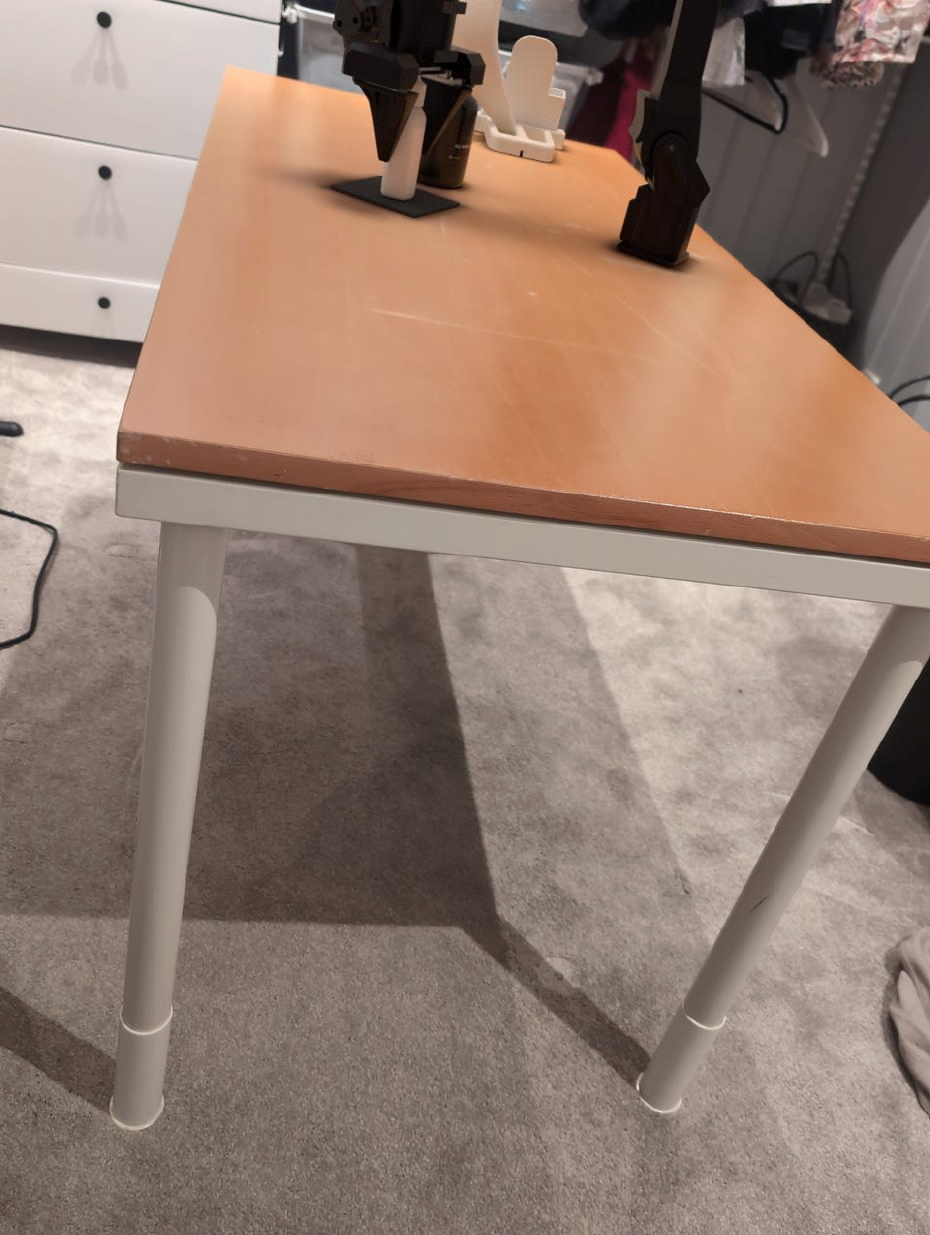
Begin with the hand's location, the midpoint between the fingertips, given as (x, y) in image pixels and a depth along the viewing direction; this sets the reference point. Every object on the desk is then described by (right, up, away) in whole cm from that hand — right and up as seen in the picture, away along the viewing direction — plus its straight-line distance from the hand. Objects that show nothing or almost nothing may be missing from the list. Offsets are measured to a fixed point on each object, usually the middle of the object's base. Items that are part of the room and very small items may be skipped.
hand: (403, 157), depth 105 cm
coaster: (-1, -3, +2) cm, 4 cm away
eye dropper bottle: (-1, -3, +2) cm, 4 cm away
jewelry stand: (+8, +21, +40) cm, 46 cm away
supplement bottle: (+3, +3, +12) cm, 13 cm away
